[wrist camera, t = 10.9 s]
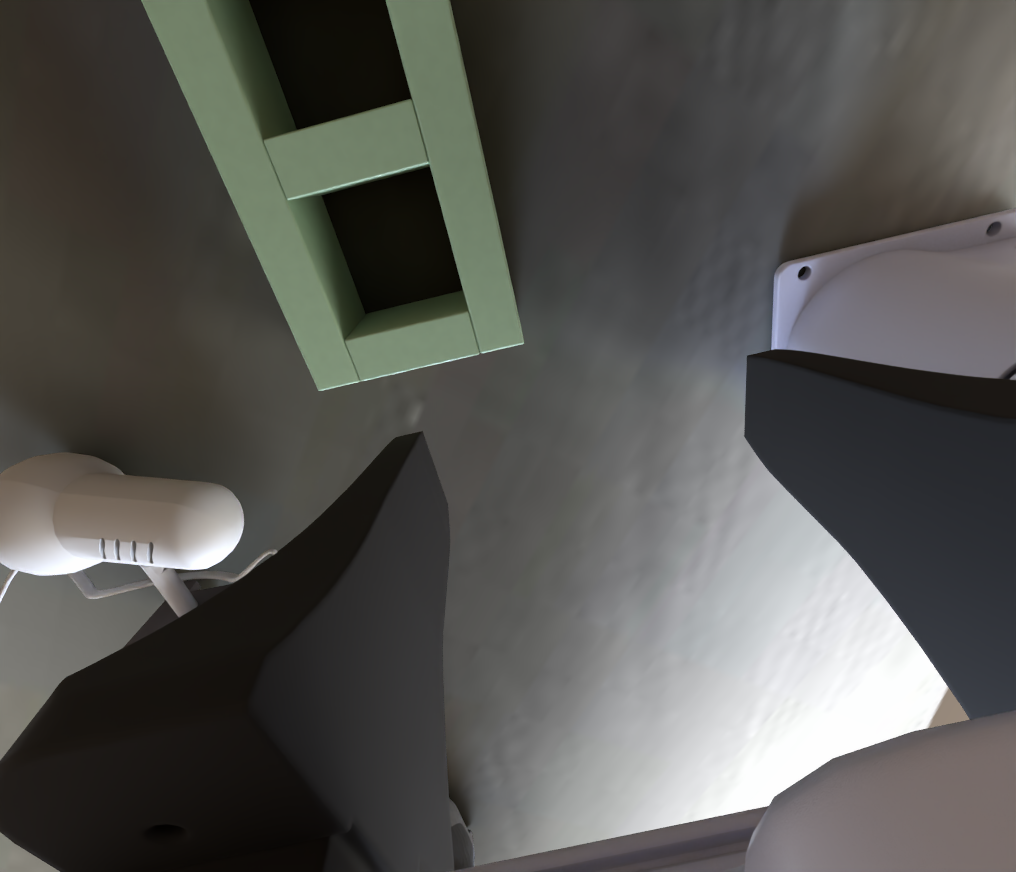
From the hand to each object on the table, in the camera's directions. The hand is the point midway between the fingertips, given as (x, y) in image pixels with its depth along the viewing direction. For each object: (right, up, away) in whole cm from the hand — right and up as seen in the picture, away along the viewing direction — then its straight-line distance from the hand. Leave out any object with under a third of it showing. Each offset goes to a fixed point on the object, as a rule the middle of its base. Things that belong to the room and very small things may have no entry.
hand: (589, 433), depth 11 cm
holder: (-7, +10, +6) cm, 13 cm away
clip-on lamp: (-21, -5, +14) cm, 26 cm away
